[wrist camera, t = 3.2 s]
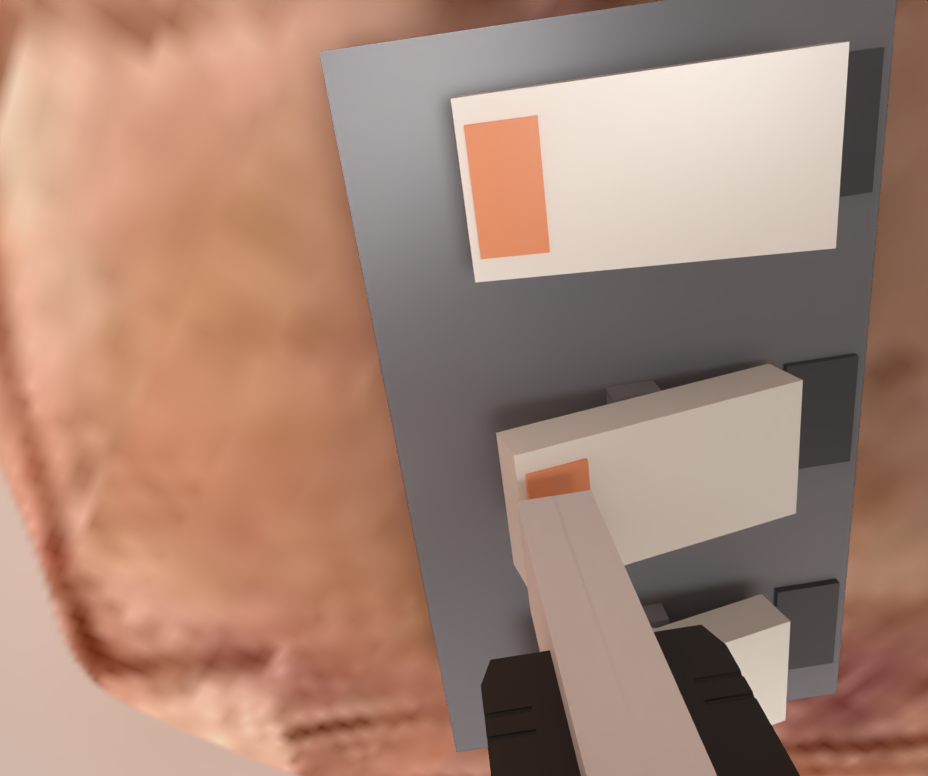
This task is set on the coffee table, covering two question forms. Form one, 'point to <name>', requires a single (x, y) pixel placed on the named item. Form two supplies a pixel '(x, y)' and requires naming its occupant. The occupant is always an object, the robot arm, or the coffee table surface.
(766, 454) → the rocker
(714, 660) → the robot arm
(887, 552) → the coffee table surface
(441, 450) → the rocker switch panel
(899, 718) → the coffee table surface
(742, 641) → the small box
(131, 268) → the coffee table surface
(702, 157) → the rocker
